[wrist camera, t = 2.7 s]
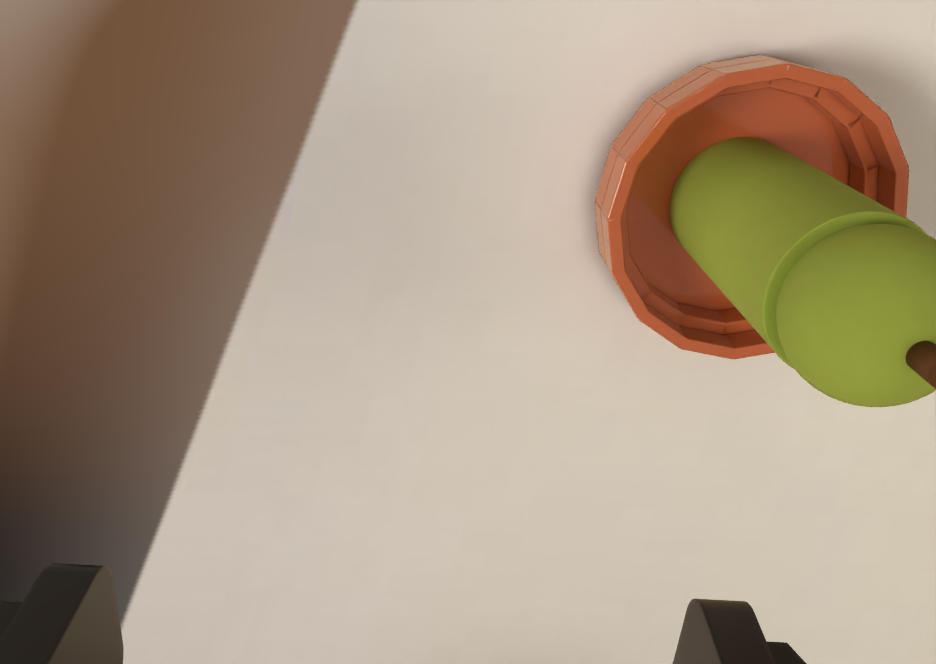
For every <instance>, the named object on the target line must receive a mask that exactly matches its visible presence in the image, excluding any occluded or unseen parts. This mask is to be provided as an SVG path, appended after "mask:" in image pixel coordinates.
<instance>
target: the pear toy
mask: <svg viewBox="0 0 936 664" xmlns="http://www.w3.org/2000/svg"><path fill="white" fill-rule="evenodd" d="M670 222H671V226H672V229H673V232H674V234H675V236H676V238H677V240H678V242H679V243H680V244H681V246H682V247H683V248H684V249H685V250H686V251H687V253H688V254H689V255H690V256H691V257H692V258H693V259H694V261H695V262H696V263H697V264H698V265H699V266H700V267H701V268H702V270H703V271H704V272H705V273H706V274H707V275H708V276H709V278H710V279H711V280H712V281H713V282H714V283H715V284H716V286H717V287H718V288H719V289H720V290H721V291H722V292H723V294H724V295H725V296H726V297H727V298H728V299H729V300H730V301H731V303H732V304H733V305H734V306H735V307H736V308H737V309H738V311H739V312H740V313H741V314H742V315H743V316H744V317H745V319H746V320H747V321H748V322H749V323H750V324H751V325H752V327H753V328H754V329H755V330H756V331H757V332H758V333H759V335H760V336H761V337H762V338H763V339H764V340H765V341H766V342H767V344H768V345H769V346H770V347H771V348H772V349H773V350H774V352H775V353H776V354H777V355H778V356H779V357H780V358H781V359H782V360H783V361H784V362H785V363H786V364H788V365H789V366H791V367H792V368H794V369H795V370H796V371H797V372H798V373H799V375H800V376H801V377H802V378H804V379H805V380H806V381H807V382H808V383H809V384H810V385H812V386H813V387H814V388H816V389H817V390H819V391H821V392H822V393H824V394H826V395H828V396H829V397H832V398H834V399H837V400H839V401H842V402H845V403H849V404H853V405H859V406H867V407H887V406H895V405H901V404H905V403H909V402H912V401H915V400H918V399H920V398H922V397H924V396H926V395H928V394H930V393H932V392H933V391H935V390H936V240H935V239H934V238H932V237H930V236H928V235H927V234H926V233H925V232H924V231H923V230H922V229H921V228H920V227H919V226H917V225H916V224H914V223H913V222H912V221H910V220H908V219H906V218H905V217H903V216H901V215H899V214H898V213H896V212H894V211H892V210H890V209H889V208H887V207H885V206H883V205H881V204H880V203H878V202H876V201H874V200H872V199H871V198H869V197H867V196H865V195H864V194H862V193H860V192H858V191H856V190H855V189H853V188H851V187H849V186H847V185H846V184H844V183H842V182H840V181H838V180H837V179H835V178H833V177H831V176H830V175H828V174H826V173H824V172H822V171H821V170H819V169H817V168H815V167H813V166H812V165H810V164H808V163H806V162H804V161H803V160H801V159H799V158H797V157H796V156H794V155H792V154H790V153H788V152H787V151H785V150H783V149H781V148H779V147H778V146H776V145H774V144H772V143H770V142H768V141H765V140H762V139H759V138H753V137H737V138H731V139H726V140H723V141H720V142H718V143H715V144H713V145H711V146H709V147H707V148H706V149H704V150H703V151H701V152H700V153H699V154H698V155H696V156H695V157H694V158H693V159H692V160H691V161H690V162H689V163H688V164H687V165H686V167H685V168H684V169H683V171H682V172H681V174H680V176H679V177H678V179H677V181H676V183H675V186H674V188H673V191H672V195H671V200H670Z"/></svg>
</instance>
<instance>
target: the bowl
mask: <svg viewBox="0 0 936 664" xmlns="http://www.w3.org/2000/svg"><path fill="white" fill-rule="evenodd" d="M737 137H753V138H759V139H762V140H765V141H768V142H770V143H772V144H774V145H776V146H778V147H779V148H781V149H783V150H785V151H787V152H788V153H790V154H792V155H794V156H796V157H797V158H799V159H801V160H803V161H804V162H806V163H808V164H810V165H812V166H813V167H815V168H817V169H819V170H821V171H822V172H824V173H826V174H828V175H830V176H831V177H833V178H835V179H837V180H838V181H840V182H842V183H844V184H846V185H847V186H849V187H851V188H853V189H855V190H856V191H858V192H860V193H862V194H864V195H865V196H867V197H869V198H871V199H872V200H874V201H876V202H878V203H880V204H881V205H883V206H885V207H887V208H889V209H890V210H892V211H894V212H896V213H898V214H899V215H901V216H903V217H905V218H906V212H907V195H908V179H909V166H908V164H907V161H906V159H905V156H904V154H903V151H902V148H901V146H900V143H899V141H898V138H897V136H896V133H895V130H894V128H893V125H892V123H891V120H890V118H889V116H888V114H887V113H885V112H884V111H883V110H882V109H881V108H880V107H879V106H877V105H876V104H875V103H874V102H873V101H872V100H871V99H869V98H868V97H867V96H866V95H865V94H864V93H863V92H862V91H860V90H859V89H858V88H857V87H856V86H855V85H854V84H852V83H851V82H850V81H849V80H848V79H846V78H844V77H841V76H838V75H835V74H831V73H828V72H825V71H822V70H819V69H815V68H812V67H808V66H804V65H800V64H796V63H792V62H788V61H785V60H781V59H777V58H773V57H769V56H765V55H754V56H749V57H743V58H737V59H731V60H725V61H720V62H714V63H708V64H703V65H702V66H699V67H697V68H696V69H694V70H692V71H691V72H689V73H687V74H686V75H684V76H683V77H681V78H679V79H678V80H676V81H674V82H673V83H671V84H669V85H668V86H666V87H665V88H663V89H661V90H660V91H658V92H656V93H655V94H653V95H651V96H650V98H647V100H646V101H645V102H644V103H643V105H642V106H641V107H640V108H639V110H638V111H637V112H636V114H635V115H634V116H633V117H632V119H631V120H630V121H629V123H628V124H627V125H626V126H625V128H624V129H623V130H622V132H621V133H620V134H619V135H618V137H617V138H616V139H615V141H614V142H613V143H612V146H611V148H610V150H609V154H608V157H607V160H606V164H605V167H604V170H603V173H602V177H601V180H600V183H599V187H598V190H597V193H596V196H595V201H594V204H595V214H596V224H597V234H598V244H599V252H600V255H601V256H602V258H603V260H604V262H605V263H606V265H607V267H608V269H609V270H610V272H611V274H612V275H613V277H614V279H615V281H616V282H617V284H618V286H619V287H620V289H621V291H622V293H623V294H624V296H625V298H626V299H627V301H628V303H629V305H630V306H631V308H632V310H633V311H634V313H635V315H636V316H637V318H638V319H639V320H640V321H641V322H642V323H644V324H645V325H647V326H648V327H650V328H651V329H653V330H654V331H655V332H657V333H658V334H660V335H661V336H663V337H664V338H666V339H667V340H668V341H670V342H671V343H673V344H674V345H676V346H677V347H679V348H681V349H684V350H689V351H694V352H699V353H704V354H709V355H714V356H719V357H724V358H729V359H739V358H745V357H751V356H757V355H763V354H769V353H775V352H774V350H773V349H772V348H771V347H770V346H769V345H768V344H767V342H766V341H765V340H764V339H763V338H762V337H761V336H760V335H759V333H758V332H757V331H756V330H755V329H754V328H753V327H752V325H751V324H750V323H749V322H748V321H747V320H746V319H745V317H744V316H743V315H742V314H741V313H740V312H739V311H738V309H737V308H736V307H735V306H734V305H733V304H732V303H731V301H730V300H729V299H728V298H727V297H726V296H725V295H724V294H723V292H722V291H721V290H720V289H719V288H718V287H717V286H716V284H715V283H714V282H713V281H712V280H711V279H710V278H709V276H708V275H707V274H706V273H705V272H704V271H703V270H702V268H701V267H700V266H699V265H698V264H697V263H696V262H695V261H694V259H693V258H692V257H691V256H690V255H689V254H688V253H687V251H686V250H685V249H684V248H683V247H682V246H681V244H680V243H679V242H678V240H677V238H676V236H675V234H674V232H673V229H672V226H671V222H670V200H671V195H672V191H673V188H674V186H675V183H676V181H677V179H678V177H679V176H680V174H681V172H682V171H683V169H684V168H685V167H686V165H687V164H688V163H689V162H690V161H691V160H692V159H693V158H694V157H695V156H696V155H698V154H699V153H700V152H701V151H703V150H704V149H706V148H707V147H709V146H711V145H713V144H715V143H718V142H720V141H723V140H726V139H731V138H737Z"/></svg>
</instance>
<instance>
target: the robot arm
mask: <svg viewBox="0 0 936 664" xmlns="http://www.w3.org/2000/svg"><path fill="white" fill-rule="evenodd" d="M0 664H123V641H122V634H121V627H120V620H119V614H118V606H117V599H116V593H115V587H114V579H113V574H112V571H111V570H110V568H109V567H108V566H93V565H74V564H55V563H52V564H49V565H48V566H47V567H45V569H43V571H42V572H41V574H40V575H39V577H38V579H37V580H36V582H35V583H34V585H33V586H32V588H31V590H30V591H29V593H28V594H27V596H26V598H25V599H24V601H23V602H9V601H1V602H0ZM673 664H806V663H805V662H804V661H803V660H802V659H801V657H800V656H799V655H798V654H797V653H796V652H795V651H794V650H793V649H792V648H791V647H790V646H789V645H788V643H782V642H766V640H765V637H764V635H763V633H762V630H761V628H760V625H759V623H758V620H757V618H756V616H755V613H754V611H753V609H752V607H751V606H750V605H749V604H748V603H747V602H745V601H726V600H707V599H693V600H691V601H690V603H689V605H688V608H687V611H686V615H685V619H684V623H683V627H682V631H681V634H680V638H679V642H678V646H677V650H676V654H675V658H674V661H673Z"/></svg>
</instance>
